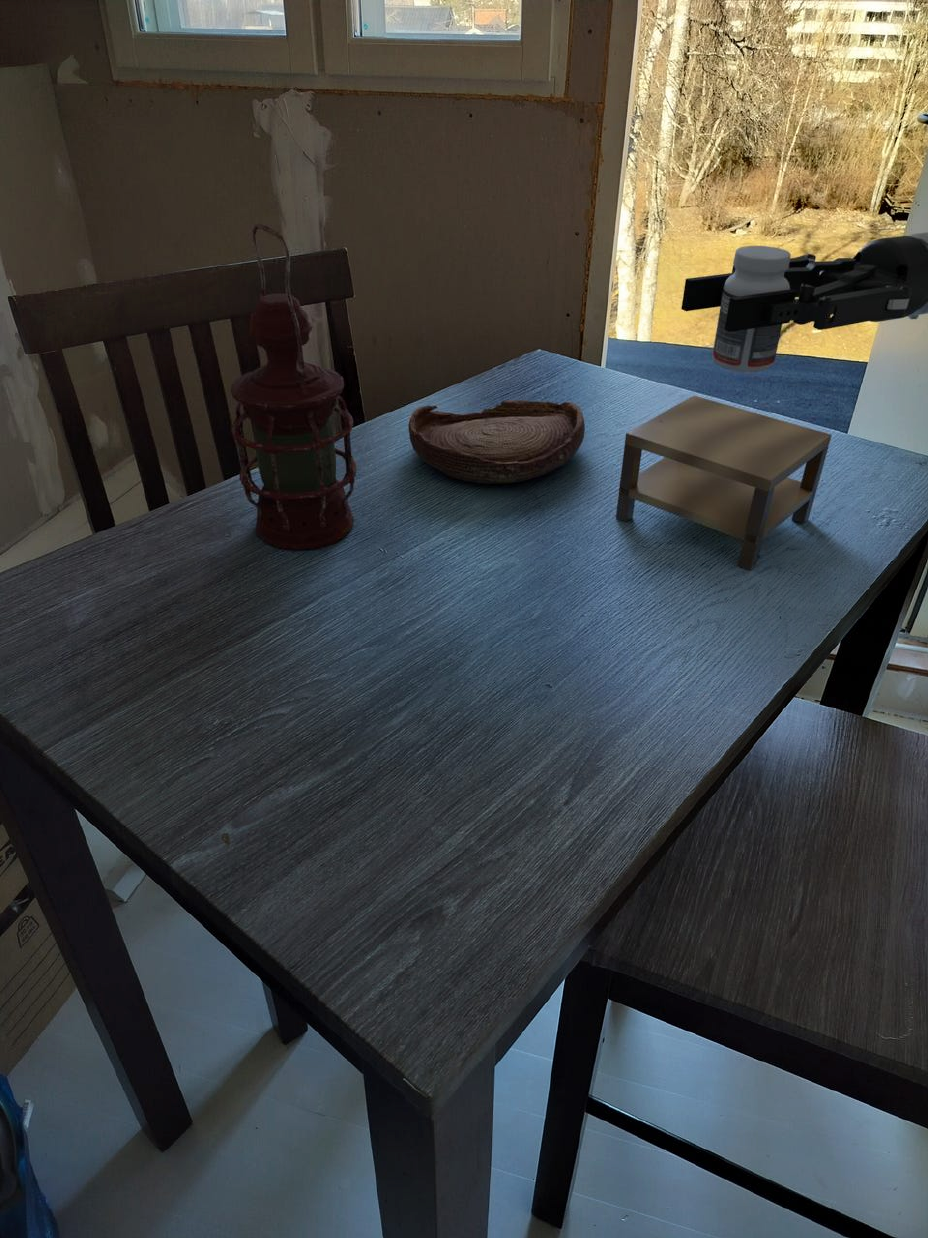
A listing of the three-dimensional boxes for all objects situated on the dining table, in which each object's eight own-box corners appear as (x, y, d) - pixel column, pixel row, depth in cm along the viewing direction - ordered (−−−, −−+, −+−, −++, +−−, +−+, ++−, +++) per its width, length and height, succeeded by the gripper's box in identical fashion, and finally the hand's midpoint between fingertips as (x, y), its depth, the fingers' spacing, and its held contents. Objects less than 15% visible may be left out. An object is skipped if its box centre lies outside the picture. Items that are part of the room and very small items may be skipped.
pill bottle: (769, 354, 82) (793, 245, 76) (776, 375, 78) (802, 261, 72) (709, 351, 83) (728, 242, 77) (712, 371, 79) (733, 258, 73)
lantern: (381, 533, 91) (362, 231, 73) (275, 568, 85) (226, 249, 68) (330, 489, 99) (302, 207, 81) (230, 517, 93) (176, 222, 76)
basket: (526, 408, 118) (528, 373, 116) (620, 462, 105) (625, 425, 102) (382, 444, 109) (380, 407, 106) (465, 509, 95) (465, 469, 92)
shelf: (808, 519, 94) (832, 434, 88) (749, 570, 85) (771, 480, 79) (680, 475, 102) (693, 395, 96) (615, 518, 94) (625, 432, 88)
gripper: (971, 345, 78) (767, 381, 71) (826, 291, 92) (643, 317, 84) (1002, 258, 73) (788, 288, 66) (844, 216, 87) (653, 236, 80)
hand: (707, 304), depth 75 cm, fingers closed on pill bottle, 6 cm apart
